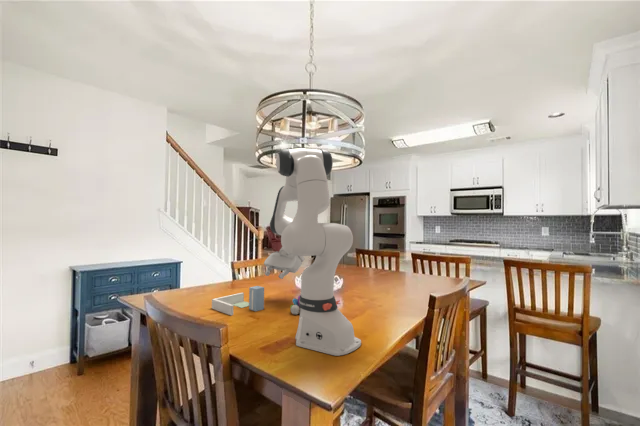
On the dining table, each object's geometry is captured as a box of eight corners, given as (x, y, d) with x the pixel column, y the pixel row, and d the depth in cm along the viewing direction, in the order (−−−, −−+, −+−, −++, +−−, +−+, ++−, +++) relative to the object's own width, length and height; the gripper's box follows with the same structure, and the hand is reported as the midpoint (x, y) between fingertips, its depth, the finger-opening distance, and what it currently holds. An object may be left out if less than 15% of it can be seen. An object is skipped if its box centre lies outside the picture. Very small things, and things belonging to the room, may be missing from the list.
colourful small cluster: (310, 317, 130) (310, 299, 130) (287, 315, 132) (287, 297, 132) (314, 310, 138) (315, 294, 138) (293, 309, 140) (293, 292, 140)
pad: (254, 304, 146) (254, 304, 146) (241, 308, 140) (241, 307, 140) (244, 301, 150) (244, 301, 150) (232, 304, 145) (232, 304, 145)
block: (263, 309, 139) (264, 287, 139) (255, 311, 136) (255, 289, 136) (257, 307, 142) (257, 285, 142) (248, 309, 139) (249, 287, 139)
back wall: (243, 301, 151) (243, 292, 151) (213, 308, 138) (213, 299, 138) (242, 300, 151) (242, 292, 151) (211, 308, 139) (211, 299, 139)
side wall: (233, 314, 131) (233, 305, 131) (230, 315, 130) (231, 305, 130) (215, 308, 139) (215, 299, 139) (213, 308, 138) (213, 299, 138)
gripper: (271, 247, 159) (254, 269, 151) (300, 250, 145) (284, 275, 138) (277, 255, 162) (262, 277, 155) (307, 259, 149) (292, 283, 141)
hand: (273, 276), depth 146 cm, fingers open, 8 cm apart
